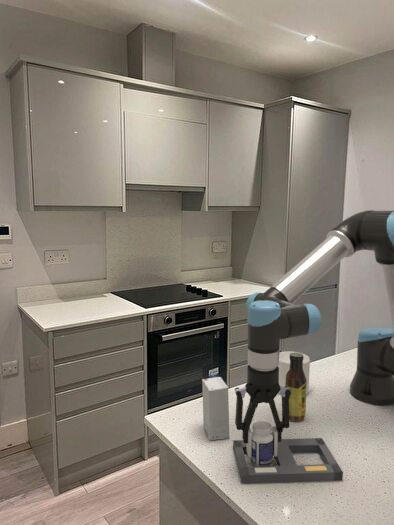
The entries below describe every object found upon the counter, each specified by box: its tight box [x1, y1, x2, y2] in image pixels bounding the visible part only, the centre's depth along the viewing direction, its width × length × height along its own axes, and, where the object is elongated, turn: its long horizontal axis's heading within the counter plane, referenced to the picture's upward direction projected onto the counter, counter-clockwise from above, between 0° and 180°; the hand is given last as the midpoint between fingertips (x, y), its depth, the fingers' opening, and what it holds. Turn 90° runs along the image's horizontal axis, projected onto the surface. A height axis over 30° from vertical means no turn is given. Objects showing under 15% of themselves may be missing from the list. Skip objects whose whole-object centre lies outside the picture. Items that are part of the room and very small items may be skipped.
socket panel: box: [232, 437, 344, 485], centre depth 101 cm, size 24×14×2 cm, turn 93°
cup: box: [277, 350, 311, 396], centre depth 141 cm, size 12×12×12 cm
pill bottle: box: [249, 420, 274, 467], centre depth 101 cm, size 6×6×10 cm
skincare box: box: [201, 376, 230, 441], centre depth 115 cm, size 8×6×15 cm
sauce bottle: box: [285, 351, 307, 422], centre depth 122 cm, size 7×6×20 cm
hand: (261, 453), depth 101 cm, fingers closed on pill bottle, 6 cm apart
